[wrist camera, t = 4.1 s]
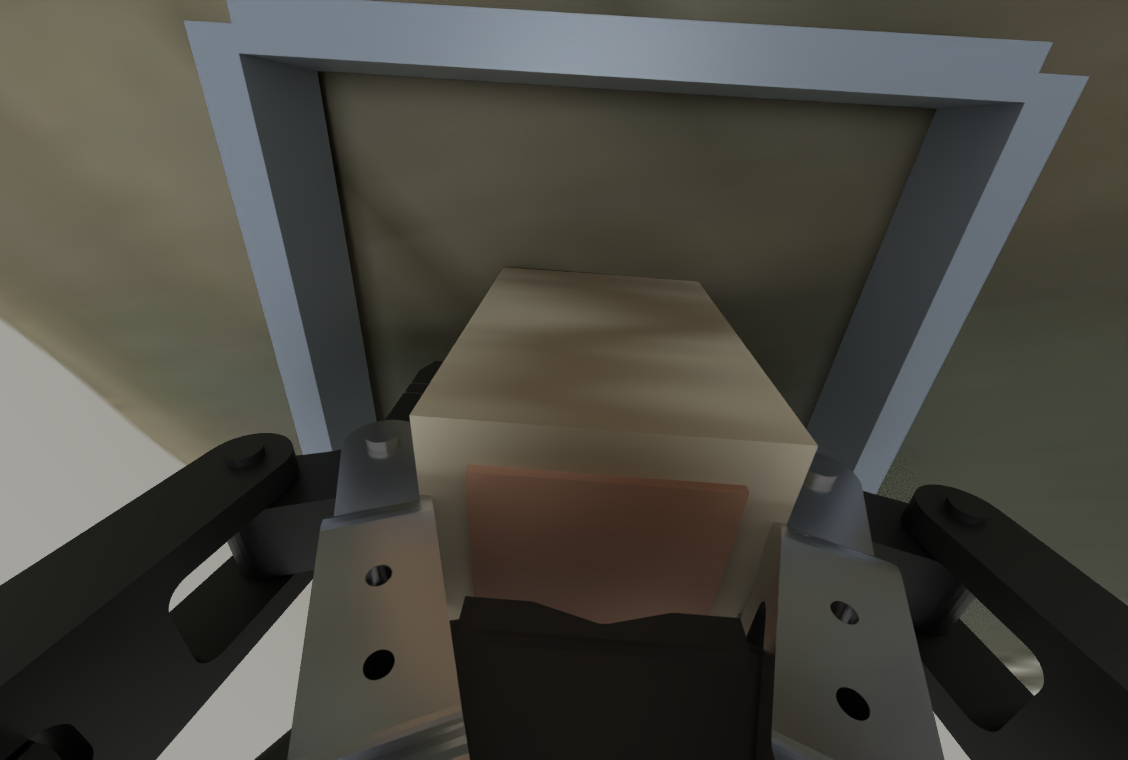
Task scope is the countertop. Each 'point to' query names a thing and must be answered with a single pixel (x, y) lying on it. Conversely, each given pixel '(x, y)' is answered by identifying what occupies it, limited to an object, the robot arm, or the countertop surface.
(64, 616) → the robot arm
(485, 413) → the block
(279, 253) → the bin
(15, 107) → the countertop surface
